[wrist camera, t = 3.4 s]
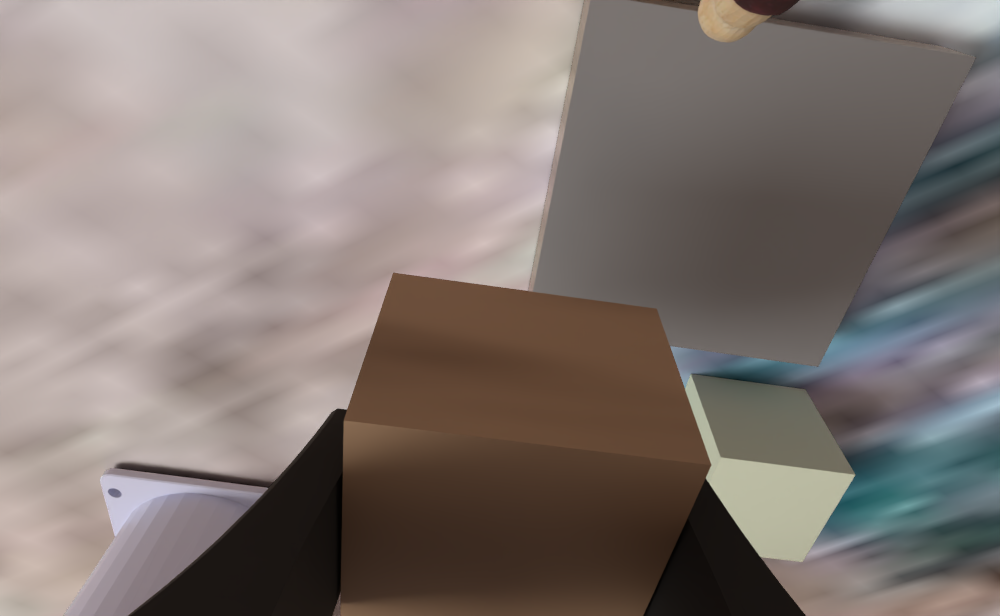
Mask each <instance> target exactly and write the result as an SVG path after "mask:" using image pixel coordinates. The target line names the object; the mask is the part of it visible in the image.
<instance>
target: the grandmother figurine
mask: <svg viewBox="0 0 1000 616" xmlns="http://www.w3.org/2000/svg"><path fill="white" fill-rule="evenodd" d="M798 1H799V0H701V1H700V4H699V8H698V20H699V23H700V26H701V28H702V30H703V31H704V33H705V34H706V35H707V36H708V37H710V38H712V39H714V40H716V41H720V42H729V43H730V42H734V41H737V40H740V39H741V38H743V37H745V36H746V35H748V34H749V33H750V32H751V31H752V30H753V29H754V28H755V27H756V25H759V24H761V23H762V22H764V21H766V20H767V19H768V18H769V17H771V16H772V15H780V14H782V13H783V12H785V11H787V10H788V9H790V8H791V7H792V6H793V5H795V4H796V3H797V2H798Z"/></svg>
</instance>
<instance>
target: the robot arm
mask: <svg viewBox="0 0 1000 616" xmlns="http://www.w3.org/2000/svg"><path fill="white" fill-rule="evenodd" d="M346 412H347V410H344V409H336V410H335V411H333V412H332V413H331V414H330V415H329V417H328V418H327V419H326V421H325V422H324V423H323V425H322V426H321V427H320V429H319V430H318V431H317V432H316V434H315V435H314V436H313V437H312V439H311V440H310V441H309V442H308V444H307V445H306V446H305V447H304V448H303V450H302V451H301V452H300V453H299V454H298V456H297V457H296V458H295V459H294V460H293V461H292V463H291V464H290V465H289V466H288V467H287V468H286V469H285V470H284V472H283V473H282V474H281V475H280V476H279V477H278V478H277V479H276V480H275V481H274V483H273V484H272V485H271V486H270V487H269V488H266V487H258V486H250V485H242V484H235V483H227V482H219V481H211V480H203V479H196V478H188V477H180V476H172V475H164V474H157V473H149V472H141V471H133V470H125V469H118V468H110V469H108V470H106V471H105V473H104V474H103V475H102V477H101V478H100V483H101V487H102V490H103V494H104V498H105V501H106V505H107V509H108V512H109V516H110V520H111V523H112V527H113V531H114V535H115V538H114V540H113V541H112V543H111V544H110V546H109V547H108V549H107V550H106V552H105V553H104V555H103V556H102V558H101V559H100V561H99V562H98V564H97V565H96V567H95V568H94V570H93V571H92V573H91V574H90V576H89V577H88V579H87V580H86V582H85V583H84V585H83V586H82V588H81V589H80V591H79V592H78V594H77V595H76V597H75V598H74V600H73V601H72V603H71V604H70V606H69V607H68V609H67V610H66V612H65V613H64V615H63V616H332V615H333V612H334V609H335V606H336V603H337V600H338V598H339V595H340V592H341V550H342V491H343V433H344V418H345V415H346ZM643 616H806V615H805V614H804V613H803V612H802V610H801V609H800V608H799V607H798V605H797V604H796V603H795V602H794V600H793V599H792V598H791V597H790V595H789V594H788V593H787V592H786V590H785V589H784V588H783V587H782V585H781V584H780V583H779V581H778V580H777V579H776V577H775V576H774V575H773V573H772V572H771V571H770V570H769V568H768V567H767V565H766V564H765V563H764V561H763V560H762V559H761V557H760V556H759V554H758V553H757V552H756V550H755V549H754V548H753V546H752V545H751V543H750V542H749V541H748V539H747V538H746V537H745V535H744V534H743V532H742V531H741V529H740V528H739V527H738V525H737V524H736V522H735V521H734V519H733V518H732V516H731V515H730V514H729V512H728V511H727V509H726V508H725V506H724V505H723V503H722V502H721V500H720V499H719V497H718V496H717V494H716V493H715V491H714V490H713V488H712V487H711V485H710V484H709V482H708V481H707V479H706V478H705V481H704V483H703V485H702V487H701V489H700V492H699V494H698V496H697V498H696V500H695V503H694V505H693V507H692V509H691V511H690V514H689V516H688V518H687V520H686V522H685V525H684V527H683V529H682V531H681V533H680V536H679V538H678V540H677V542H676V545H675V547H674V549H673V551H672V553H671V556H670V558H669V560H668V562H667V564H666V567H665V569H664V571H663V573H662V575H661V578H660V580H659V582H658V584H657V586H656V589H655V591H654V593H653V595H652V597H651V600H650V602H649V604H648V606H647V608H646V611H645V613H644V615H643Z"/></svg>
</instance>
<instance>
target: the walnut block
mask: <svg viewBox="0 0 1000 616" xmlns="http://www.w3.org/2000/svg"><path fill="white" fill-rule="evenodd" d="M710 467H711V462H710V459H709V457H708V454H707V451H706V448H705V445H704V442H703V439H702V437H701V434H700V431H699V428H698V425H697V422H696V419H695V417H694V414H693V411H692V408H691V405H690V402H689V399H688V397H687V394H686V391H685V388H684V385H683V382H682V379H681V377H680V374H679V371H678V368H677V365H676V362H675V359H674V357H673V354H672V351H671V348H670V345H669V342H668V339H667V337H666V334H665V331H664V328H663V325H662V322H661V319H660V317H659V314H658V311H657V309H656V308H649V307H641V306H634V305H626V304H619V303H612V302H604V301H597V300H590V299H582V298H575V297H568V296H560V295H553V294H545V293H538V292H531V291H523V290H516V289H509V288H501V287H494V286H487V285H479V284H472V283H464V282H457V281H450V280H442V279H435V278H428V277H420V276H413V275H406V274H398V273H393V275H392V278H391V281H390V284H389V287H388V290H387V293H386V296H385V299H384V302H383V305H382V308H381V311H380V314H379V317H378V320H377V323H376V326H375V329H374V332H373V335H372V338H371V341H370V344H369V347H368V350H367V353H366V356H365V359H364V362H363V365H362V367H361V370H360V373H359V376H358V379H357V382H356V385H355V388H354V391H353V394H352V397H351V400H350V403H349V406H348V409H347V412H346V415H345V418H344V433H343V491H342V550H341V608H340V616H643V615H644V613H645V611H646V608H647V606H648V604H649V602H650V600H651V597H652V595H653V593H654V591H655V589H656V586H657V584H658V582H659V580H660V578H661V575H662V573H663V571H664V569H665V567H666V564H667V562H668V560H669V558H670V556H671V553H672V551H673V549H674V547H675V545H676V542H677V540H678V538H679V536H680V533H681V531H682V529H683V527H684V525H685V522H686V520H687V518H688V516H689V514H690V511H691V509H692V507H693V505H694V503H695V500H696V498H697V496H698V494H699V492H700V489H701V487H702V485H703V483H704V481H705V478H706V476H707V474H708V472H709V470H710Z"/></svg>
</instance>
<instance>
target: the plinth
mask: <svg viewBox="0 0 1000 616" xmlns="http://www.w3.org/2000/svg"><path fill="white" fill-rule="evenodd" d="M698 8H699V6H695V5H689V4H683V3H677V2H671V1H665V0H584V3H583V8H582V13H581V18H580V23H579V29H578V34H577V39H576V44H575V49H574V55H573V60H572V65H571V70H570V75H569V81H568V86H567V91H566V96H565V101H564V106H563V112H562V117H561V122H560V127H559V132H558V138H557V143H556V148H555V153H554V158H553V164H552V169H551V174H550V179H549V184H548V189H547V195H546V200H545V205H544V210H543V215H542V221H541V226H540V231H539V236H538V241H537V247H536V252H535V257H534V262H533V267H532V273H531V278H530V283H529V288H528V291H531V292H538V293H545V294H553V295H560V296H568V297H575V298H582V299H590V300H597V301H604V302H612V303H619V304H626V305H634V306H641V307H649V308H656V309H657V311H658V314H659V317H660V319H661V322H662V325H663V328H664V331H665V334H666V337H667V339H668V342H669V345H670V346H675V347H682V348H689V349H696V350H703V351H710V352H717V353H724V354H731V355H739V356H746V357H753V358H760V359H767V360H774V361H781V362H788V363H795V364H802V365H809V366H816V367H818V366H819V364H820V362H821V360H822V358H823V356H824V354H825V352H826V351H827V349H828V347H829V345H830V343H831V341H832V339H833V337H834V335H835V333H836V331H837V329H838V327H839V325H840V323H841V321H842V319H843V317H844V315H845V313H846V311H847V309H848V307H849V305H850V304H851V302H852V300H853V298H854V296H855V294H856V292H857V290H858V288H859V286H860V284H861V282H862V280H863V278H864V276H865V274H866V272H867V270H868V268H869V266H870V264H871V262H872V260H873V259H874V257H875V255H876V253H877V251H878V249H879V247H880V245H881V243H882V241H883V239H884V237H885V235H886V233H887V231H888V229H889V227H890V225H891V223H892V221H893V219H894V217H895V215H896V213H897V212H898V210H899V208H900V206H901V204H902V202H903V200H904V198H905V196H906V194H907V192H908V190H909V188H910V186H911V184H912V182H913V180H914V178H915V176H916V174H917V172H918V170H919V168H920V167H921V165H922V163H923V161H924V159H925V157H926V155H927V153H928V151H929V149H930V147H931V145H932V143H933V141H934V139H935V137H936V135H937V133H938V131H939V129H940V127H941V125H942V123H943V121H944V120H945V118H946V116H947V114H948V112H949V110H950V108H951V106H952V104H953V102H954V100H955V98H956V96H957V94H958V92H959V90H960V88H961V86H962V84H963V82H964V80H965V78H966V76H967V74H968V73H969V71H970V69H971V67H972V65H973V63H974V61H975V59H976V57H974V56H971V55H968V54H965V53H962V52H959V51H955V50H952V49H949V48H946V47H943V46H939V45H933V44H927V43H920V42H914V41H908V40H902V39H896V38H890V37H884V36H878V35H872V34H866V33H860V32H854V31H847V30H841V29H835V28H829V27H823V26H817V25H811V24H805V23H799V22H793V21H787V20H780V19H774V18H768V19H767V20H766V21H764V22H762V23H761V24H759V25H756V27H755V28H754V29H753V30H752V31H751V32H750V33H749V34H748V35H746V36H745V37H743V38H741V39H740V40H737V41H734V42H730V43H729V42H720V41H716V40H714V39H712V38H710V37H708V36H707V35H706V34H705V33H704V31H703V30H702V28H701V26H700V23H699V20H698Z"/></svg>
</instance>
